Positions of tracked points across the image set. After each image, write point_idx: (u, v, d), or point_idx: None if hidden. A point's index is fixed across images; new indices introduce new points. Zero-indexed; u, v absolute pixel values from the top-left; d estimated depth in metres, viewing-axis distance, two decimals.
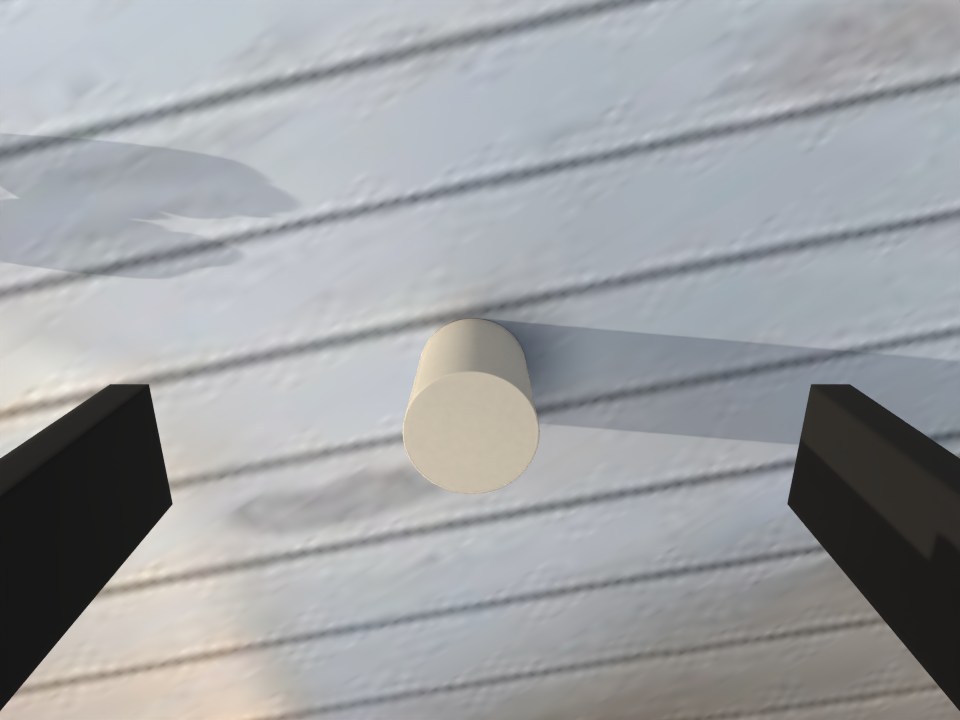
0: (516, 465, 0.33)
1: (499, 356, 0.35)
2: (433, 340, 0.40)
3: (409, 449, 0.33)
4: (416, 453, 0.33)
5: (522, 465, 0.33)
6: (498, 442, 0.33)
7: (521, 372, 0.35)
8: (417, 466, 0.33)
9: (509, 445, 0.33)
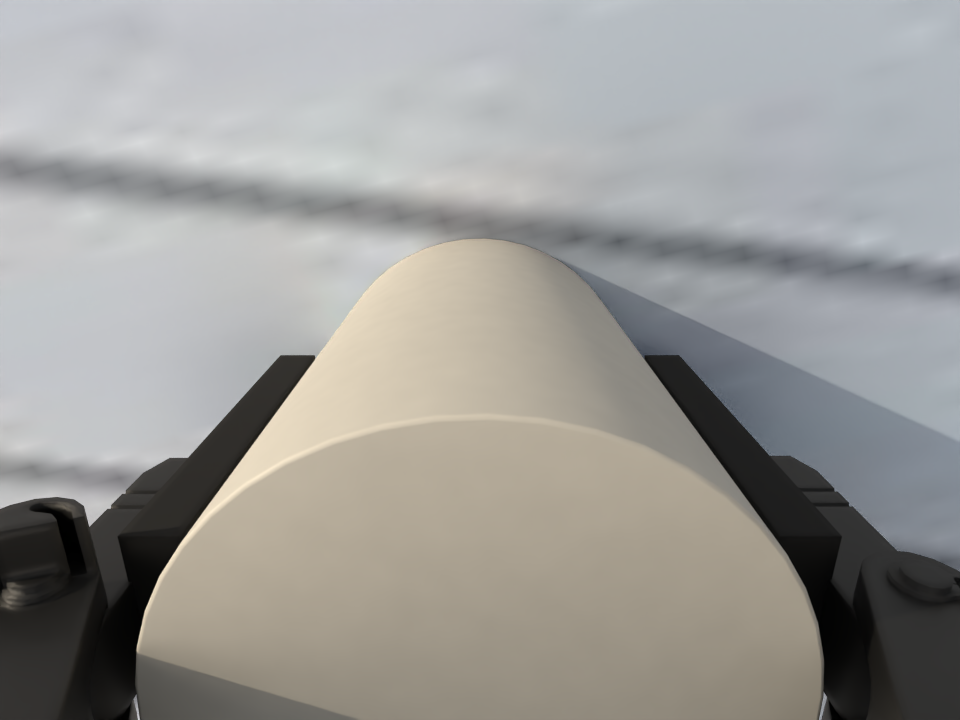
0: None
1: (659, 384, 0.09)
2: (408, 266, 0.13)
3: (153, 706, 0.06)
4: None
5: None
6: None
7: None
8: None
9: None
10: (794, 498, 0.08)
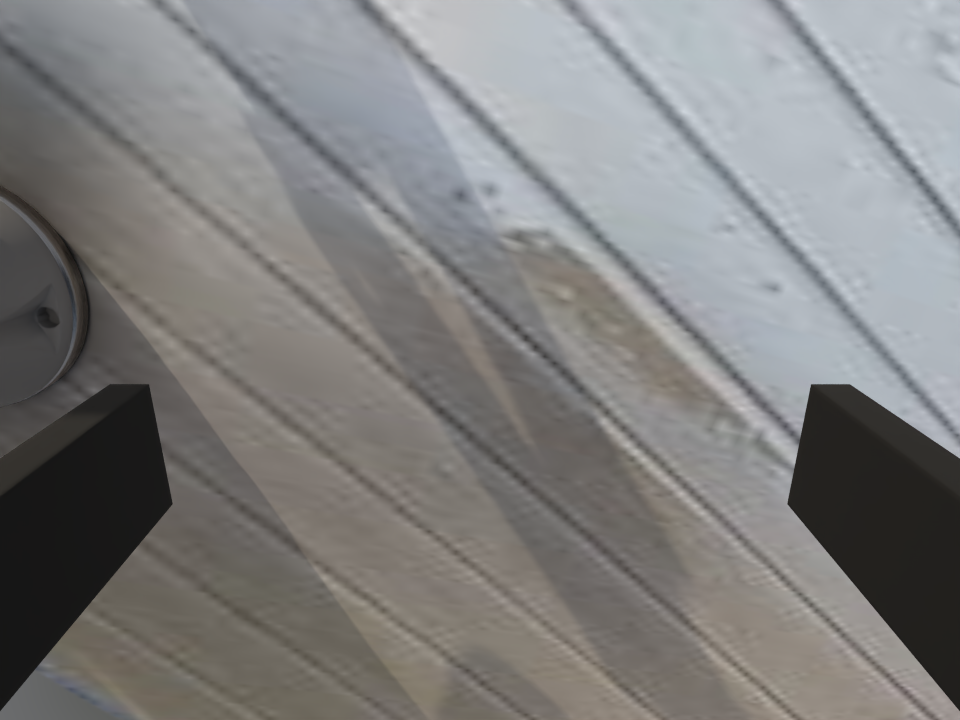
0: None
1: None
2: None
3: None
4: None
5: None
6: None
7: None
8: None
9: None
10: None
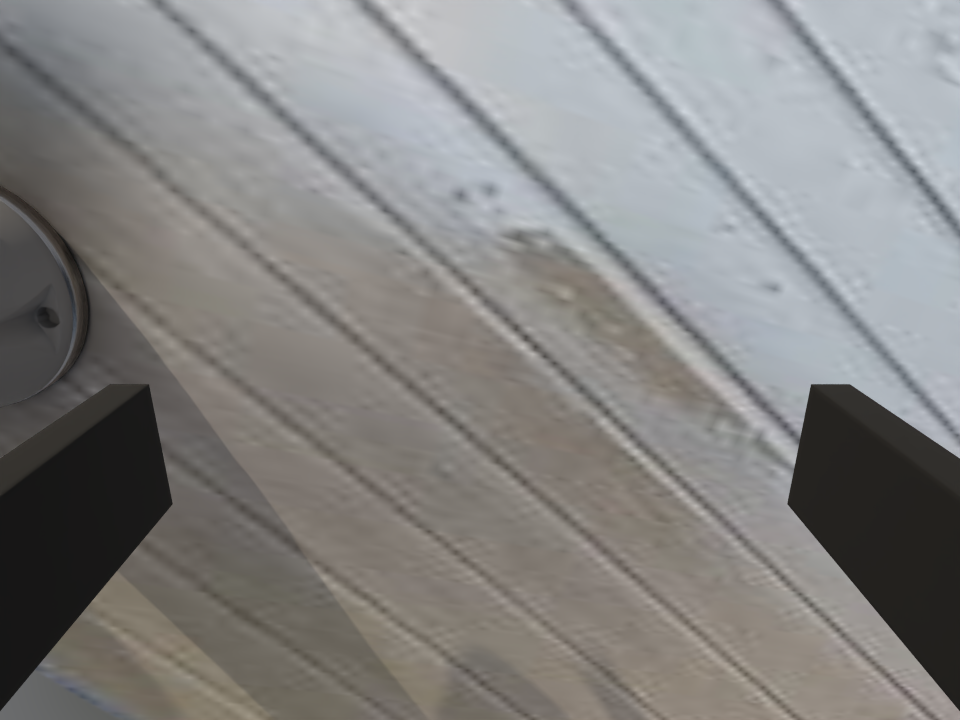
0: None
1: None
2: None
3: None
4: None
5: None
6: None
7: None
8: None
9: None
10: None
